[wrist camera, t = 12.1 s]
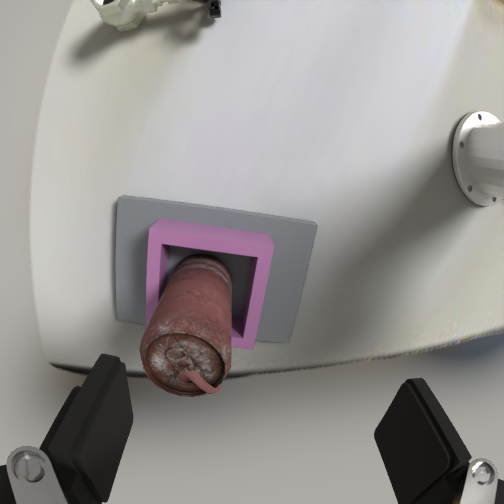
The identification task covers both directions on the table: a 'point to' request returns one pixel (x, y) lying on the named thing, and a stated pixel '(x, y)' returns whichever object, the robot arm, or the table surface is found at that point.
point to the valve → (138, 11)
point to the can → (191, 329)
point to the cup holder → (222, 247)
